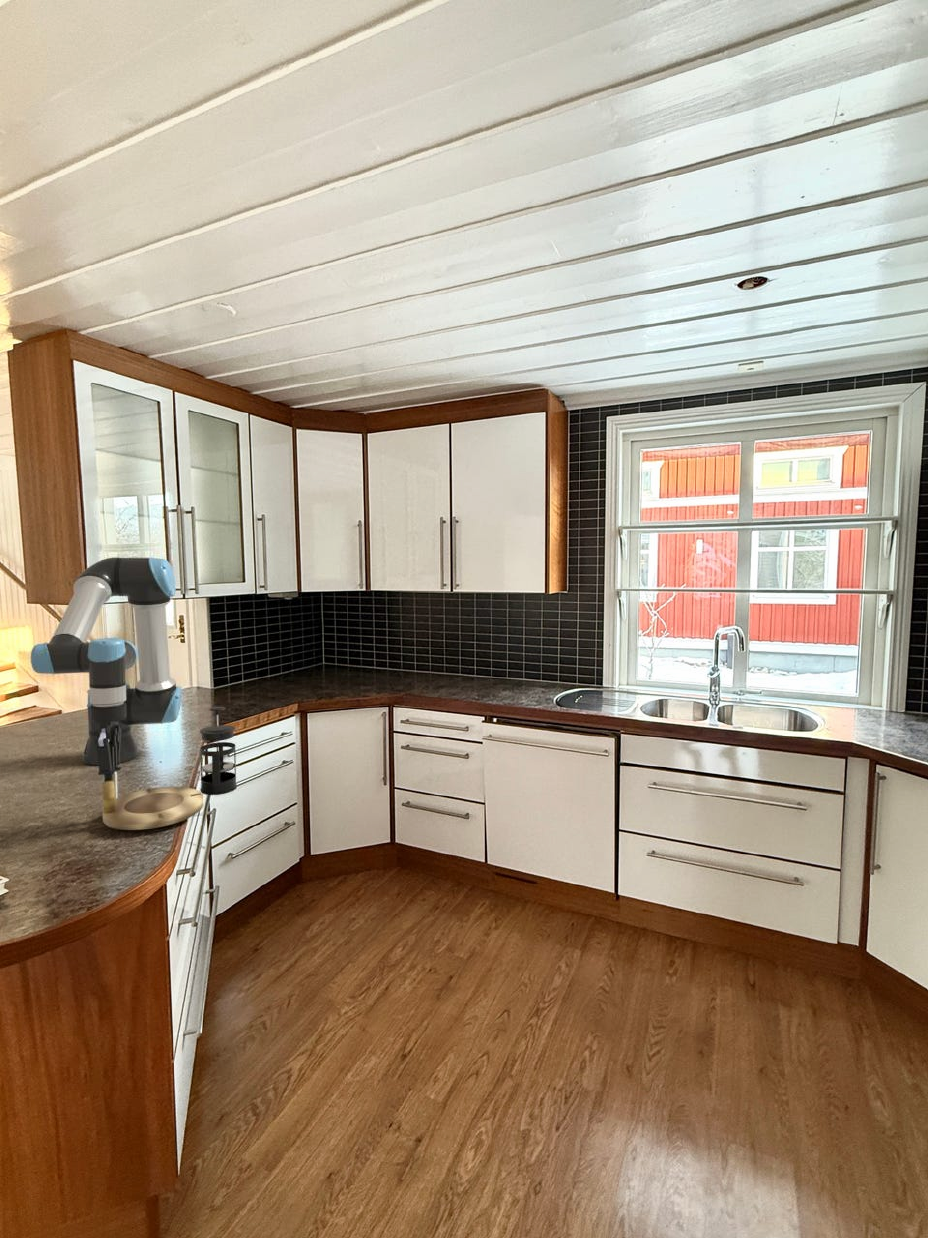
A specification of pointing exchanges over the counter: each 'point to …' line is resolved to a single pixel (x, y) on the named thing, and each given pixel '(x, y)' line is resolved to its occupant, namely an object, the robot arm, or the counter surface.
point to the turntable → (149, 807)
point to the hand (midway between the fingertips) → (110, 798)
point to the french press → (218, 759)
